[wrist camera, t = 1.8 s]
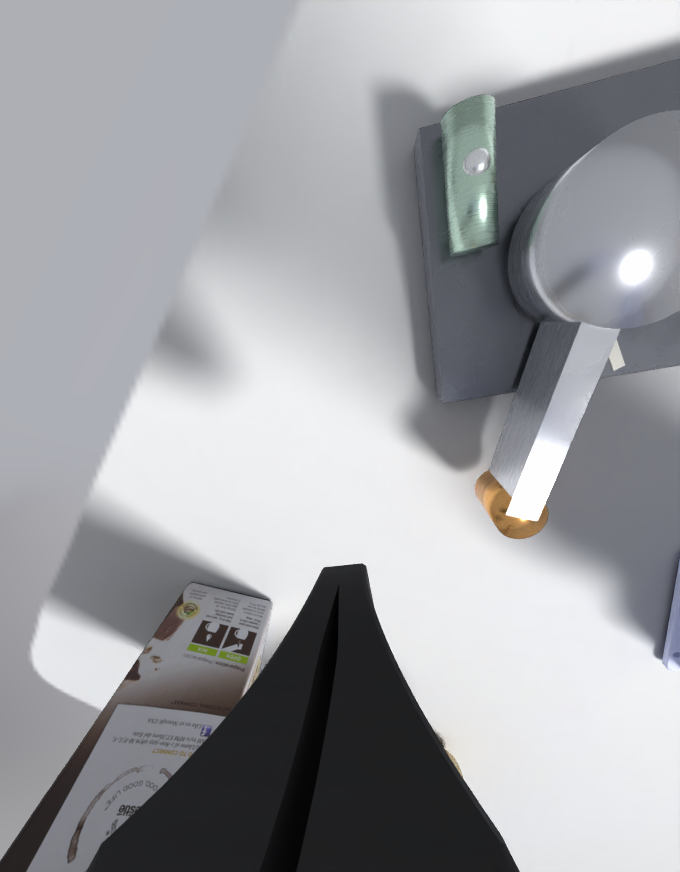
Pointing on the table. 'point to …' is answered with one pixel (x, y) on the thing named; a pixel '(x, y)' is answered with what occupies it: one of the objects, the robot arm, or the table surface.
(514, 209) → the plate
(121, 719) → the coffee box
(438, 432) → the table surface
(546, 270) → the silver pan
